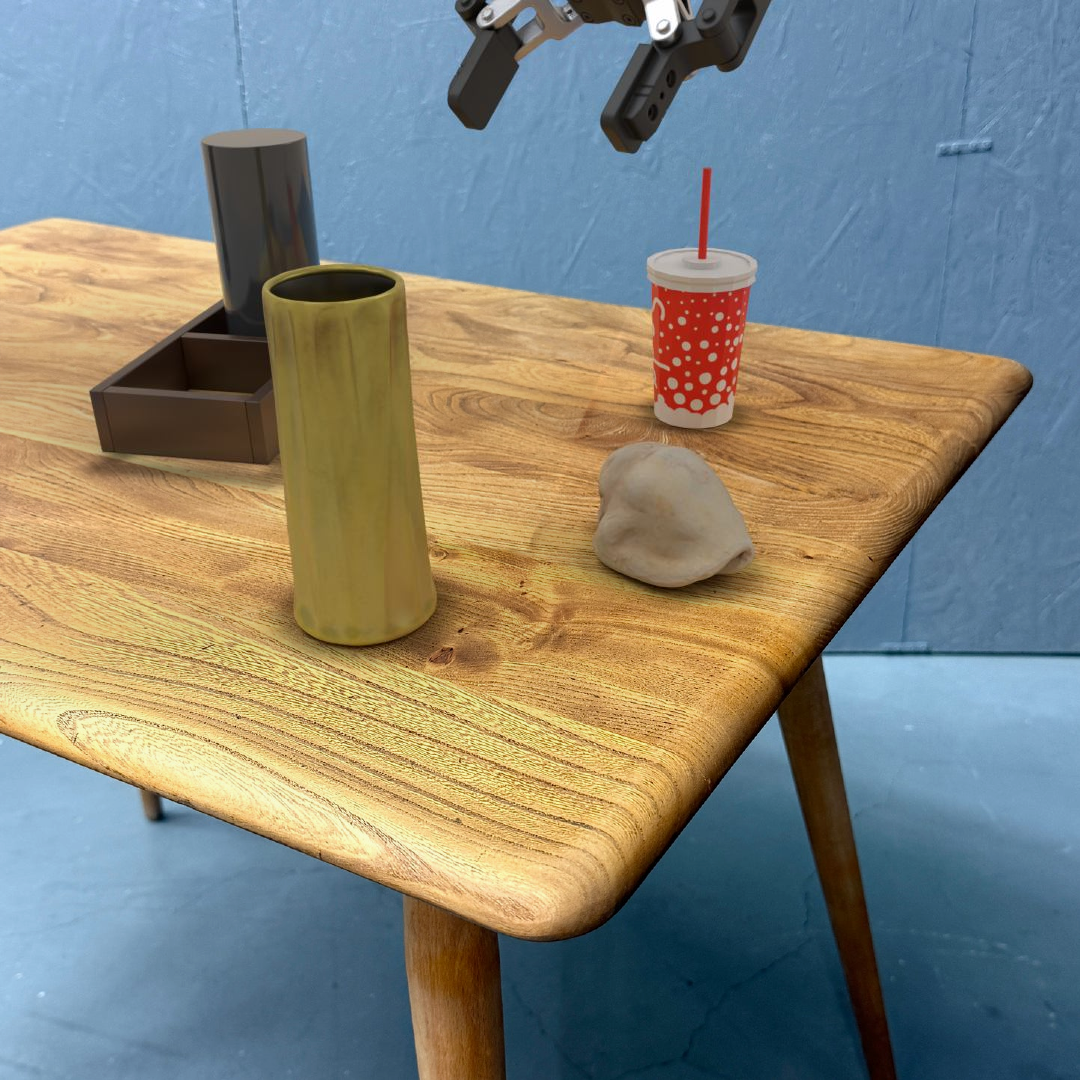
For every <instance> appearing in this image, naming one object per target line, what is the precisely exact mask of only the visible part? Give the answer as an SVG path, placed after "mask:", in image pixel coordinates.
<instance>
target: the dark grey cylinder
mask: <svg viewBox="0 0 1080 1080" xmlns="http://www.w3.org/2000/svg"><path fill="white" fill-rule="evenodd" d="M199 144H200V151H201V157H202V165H203V171H204V172H203V173H204V177H205V185H206V191H207V199H208V205H209V212H210V219H211V226H212V232H213V239H214V245H215V252H216V259H217V266H218V272H219V280H220V287H221V293H222V298H223V300H224V307H225V314H226V321H227V327H228V334H229V335H238V336H255V337H267V333H266V326H265V319H264V311H263V300H262V288H263V286H264V284H265V283H266V282H267V281H268V280H269V279H271V278H273V277H275V276H277V275H279V274H282V273H284V272H288V271H292V270H296V269H300V268H304V267H310V266H317V265H321V259H320V249H319V240H318V230H317V229H318V228H317V221H316V211H315V202H314V201H315V200H314V192H313V183H312V173H311V164H310V163H311V161H310V153H309V144H308V136H307V134H306V133H305V132H303V131H299V130H295V129H288V128H272V127H271V128H270V127H269V128H266V127H265V128H262V127H261V128H245V129H234V130H227V131H221V132H215V133H211V134H209V135H205V136H203V137H202V138H200V140H199Z"/></svg>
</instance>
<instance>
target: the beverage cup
mask: <svg viewBox="0 0 1080 1080" xmlns="http://www.w3.org/2000/svg"><path fill="white" fill-rule="evenodd" d="M712 171H713V168H712V167H707V166H706V167H705V166H704V167H703V168H702V177H701V192H700V193H701V196H700V213H699V214H700V215H699V229H698V230H699V231H698V247H683V248H682V247H681V248H674V249H673V248H672V249H668V250H663V251H660V252H655V253H654V254H652V255H650V256H648V257H647V259H646V271H647V273H646V274H647V275H646V279H647V280H648V281H650V282H651V283H650V284H651V285H650V286H651V323H652V326H651V329H652V366H653V367H652V368H653V369H652V370H653V409H654V410H653V411H654V412H653V413H654V416H655V417H656V418H657V419H658V420H659V421H661V422H663V423H665V424H667V425H669V426H673V427H679V428H684V429H709V428H715V427H718V426H721V425H724V424H726V423H728V422H729V421H730V420H732V418H733V414H734V413H733V412H734V407H735V398H736V391H737V385H738V376H739V371H740V363H741V356H742V349H743V342H744V335H745V328H746V322H747V315H748V308H749V307H748V306H749V301H750V293H751V285H752V284H754V283H755V282H756V280H757V279H756V274H757V272H758V262H757V259H755V258H754V257H751V256H750V255H748V254H746V253H745V254H744V253H742V252H739V251H735V250H730V249H722V248H715V247H708V238H709V221H710V205H711V203H710V202H711V190H712V189H711V188H712V187H711V186H712Z"/></svg>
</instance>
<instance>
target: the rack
mask: <svg viewBox="0 0 1080 1080" xmlns="http://www.w3.org/2000/svg"><path fill="white" fill-rule="evenodd" d="M88 393H89V397H90V398H89V399H90V403H91V407H92V412H93V416H94V422H95V425H96V426H95V427H96V430H97V435H98V439H99V445H100V449H101V453H109V454H122V455H133V456H134V455H135V456H146V457H147V456H148V457H158V458H159V457H161V458H172V459H184V460H186V459H187V460H195V461H210V462H219V463H220V462H221V463H232V464H233V463H234V464H245V465H247V464H248V465H259V466H269V465H270V464H271V463H272V462H273V461H274V460H275V459H276V458H277V457H278V456H279V455H280V449H279V438H278V427H277V417H276V407H275V397H274V388H273V379H272V371H271V363H270V355H269V347H268V340H267V337H255V336H238V335H229V334H228V327H227V321H226V314H225V307H224V300H223V297H222V298H221V299H220V300H218V301H217V302H215V303H214V304H212V305H211V306H210V307H208V308H207V309H205V310H203V311H202V312H201V313H199V314H198V315H196V316H195V317H193V318H192V319H190V320H189V321H188V322H186V323H185V324H183V325H182V326H180V327H179V328H178V329H176V330H175V331H173V332H171V333H170V334H169V335H168V336H166V337H164V338H163V339H162V340H160V341H159V342H157V343H156V344H154V345H153V346H151V347H150V348H148V349H147V350H146V351H144V352H143V353H141V354H140V355H139V356H137V357H135V358H134V359H132V360H131V361H129V362H128V363H127V364H125V365H124V366H122V367H120V368H119V369H118V370H117V371H115V372H114V373H112V374H111V375H109V376H108V377H107V378H105V379H103V380H102V381H100V382H99V383H98V384H97V385H94V387H92V388H91V389H90V390H88Z"/></svg>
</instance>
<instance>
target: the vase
mask: <svg viewBox="0 0 1080 1080" xmlns="http://www.w3.org/2000/svg"><path fill="white" fill-rule="evenodd" d="M262 300H263V311H264V319H265V326H266V333H267V340H268V347H269V355H270V363H271V371H272V379H273V388H274V397H275V407H276V417H277V427H278V438H279V449H280V453H279V459H280V465H281V472H282V482H283V497H284V507H285V508H284V509H285V514H286V527H287V536H288V545H289V555H290V560H291V570H292V577H293V606H292V607H293V608H292V610H293V617H294V620H295V623H297V625H298V626H299V627H300V629H302V630H303V631H304V632H306V633H307V634H308V635H309V636H312V637H313V638H315V639H317V640H320V641H323V642H325V643H330V644H337V645H344V646H355V647H357V646H358V647H360V646H370V645H371V646H373V645H377V644H382V643H388V642H391V641H395V640H397V639H399V638H403V637H405V636H407V635H409V634H411V633H413V632H414V631H416V630H418V629H419V628H421V627H422V626H423V625H424V624H425V623H426V622H427V621H428V620H429V619H430V618H431V616H432V615H433V614H434V612H435V610H436V608H437V603H438V594H437V593H438V592H437V589H436V584H435V581H434V578H433V572H432V567H431V566H432V565H431V561H430V557H429V556H430V555H429V545H428V544H429V543H428V536H427V535H428V534H427V527H426V526H427V525H426V518H425V516H426V515H425V510H424V501H423V492H422V491H423V490H422V481H421V472H420V463H419V462H420V461H419V454H418V445H417V435H416V425H415V416H414V402H413V400H414V399H413V389H412V388H413V384H412V372H411V359H410V343H409V342H410V341H409V331H408V311H407V310H408V308H407V307H408V306H407V295H406V285H405V281H404V279H403V277H402V275H399V273H397V272H395V271H393V270H390V269H387V268H385V267H381V266H376V265H368V264H358V263H357V264H356V263H331V264H320V265H317V266H310V267H304V268H300V269H296V270H292V271H288V272H284V273H282V274H279V275H277V276H275V277H273V278H271V279H269V280H268V281H267V282H266V283H265V284H264V286H263V288H262Z"/></svg>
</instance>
